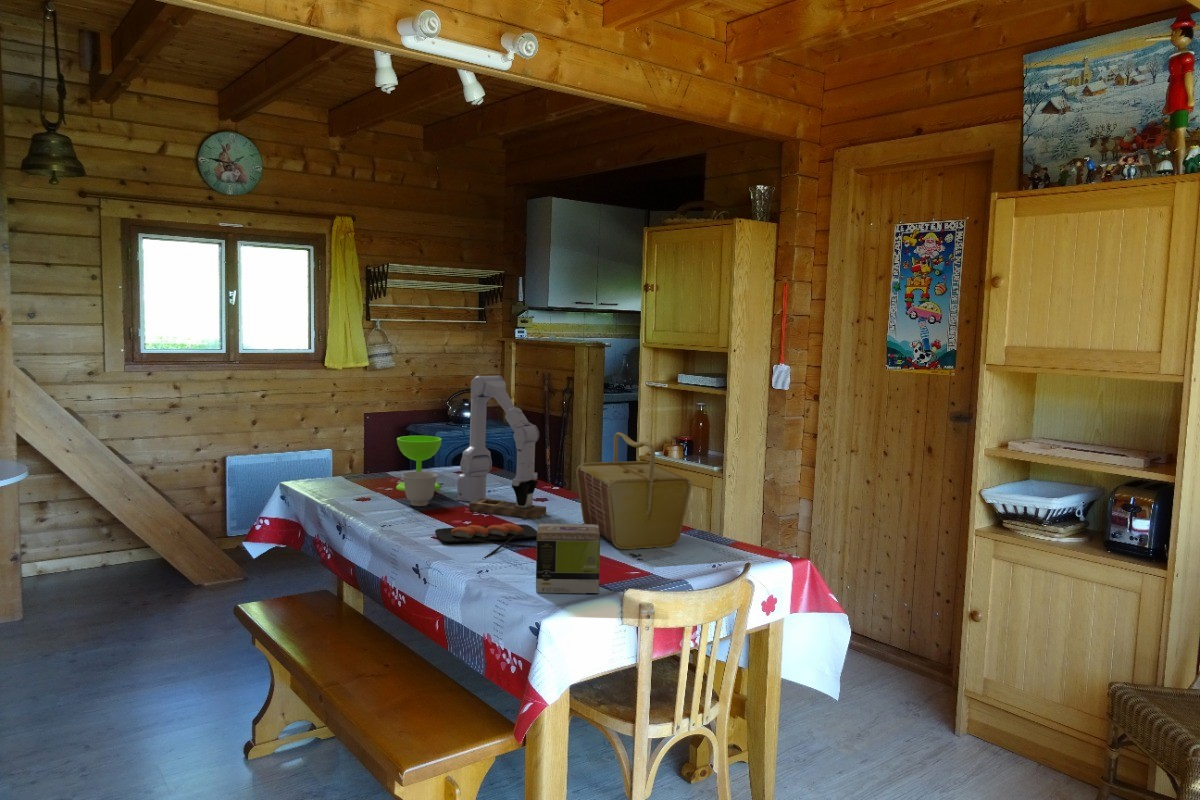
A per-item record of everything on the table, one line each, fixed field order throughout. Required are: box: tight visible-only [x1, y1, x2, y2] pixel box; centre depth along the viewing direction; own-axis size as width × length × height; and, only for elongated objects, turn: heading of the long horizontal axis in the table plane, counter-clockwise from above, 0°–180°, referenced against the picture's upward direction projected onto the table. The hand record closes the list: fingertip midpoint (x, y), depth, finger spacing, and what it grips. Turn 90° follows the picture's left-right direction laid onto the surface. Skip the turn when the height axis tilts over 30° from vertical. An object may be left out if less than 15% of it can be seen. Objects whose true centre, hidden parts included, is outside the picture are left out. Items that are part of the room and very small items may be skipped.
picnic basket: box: [575, 431, 692, 550], centre depth 255 cm, size 29×26×30 cm
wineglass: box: [395, 435, 443, 492], centre depth 316 cm, size 16×16×18 cm
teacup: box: [401, 471, 439, 507], centre depth 290 cm, size 12×15×10 cm
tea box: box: [535, 523, 601, 594], centre depth 207 cm, size 15×10×15 cm
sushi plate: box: [434, 522, 537, 559], centre depth 244 cm, size 29×30×4 cm
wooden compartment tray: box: [468, 498, 547, 520], centre depth 283 cm, size 24×8×3 cm, turn 69°
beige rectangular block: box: [515, 492, 534, 509], centre depth 280 cm, size 4×4×7 cm
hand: (524, 504), depth 280 cm, fingers closed on beige rectangular block, 4 cm apart
